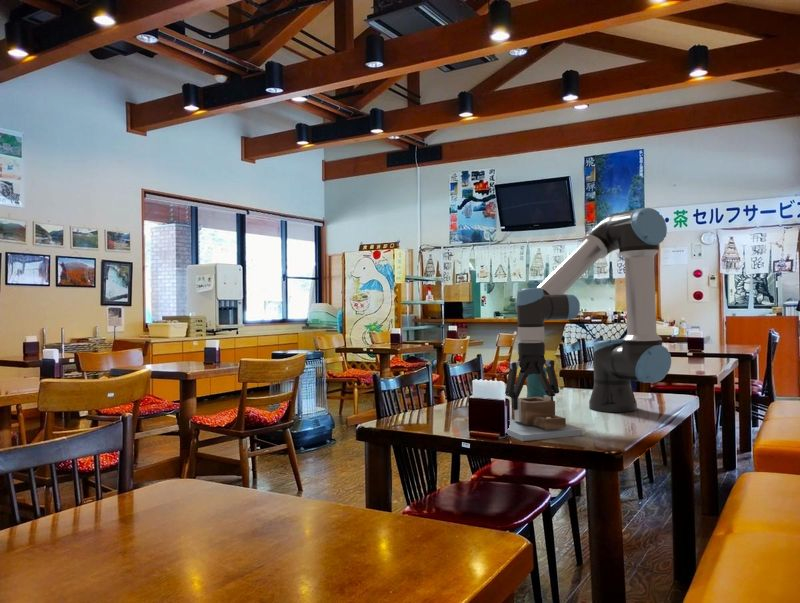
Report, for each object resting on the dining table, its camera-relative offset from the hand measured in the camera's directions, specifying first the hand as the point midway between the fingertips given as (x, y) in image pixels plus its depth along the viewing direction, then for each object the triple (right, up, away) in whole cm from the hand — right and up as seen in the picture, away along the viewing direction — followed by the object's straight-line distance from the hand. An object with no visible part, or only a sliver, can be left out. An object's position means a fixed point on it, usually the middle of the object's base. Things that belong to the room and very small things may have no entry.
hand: (533, 419), depth 177 cm
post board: (-1, -2, -4) cm, 5 cm away
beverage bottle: (+4, -3, +13) cm, 14 cm away
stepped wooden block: (+1, 0, -4) cm, 4 cm away
